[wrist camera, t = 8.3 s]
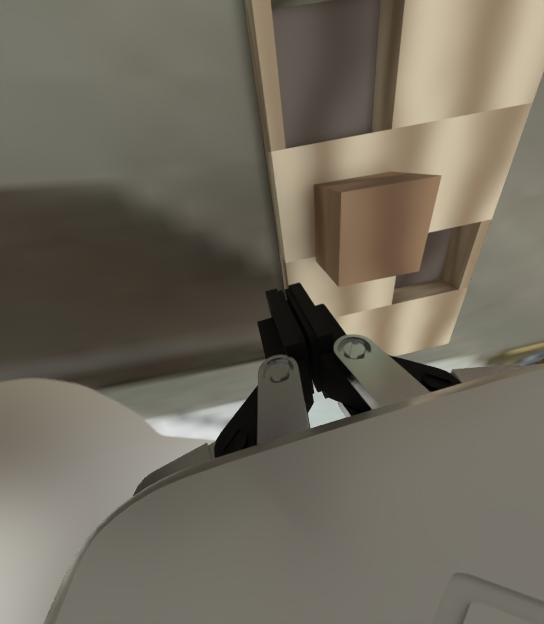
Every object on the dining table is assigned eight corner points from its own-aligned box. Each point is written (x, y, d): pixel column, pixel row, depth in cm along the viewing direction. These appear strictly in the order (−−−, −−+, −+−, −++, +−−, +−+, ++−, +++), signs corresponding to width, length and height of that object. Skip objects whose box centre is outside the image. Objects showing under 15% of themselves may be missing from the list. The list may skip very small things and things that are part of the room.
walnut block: (316, 261, 21) (338, 286, 17) (313, 184, 17) (341, 192, 13) (381, 249, 21) (419, 271, 17) (391, 171, 18) (441, 175, 14)
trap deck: (294, 361, 31) (306, 395, 27) (197, -325, 9) (170, -770, 5) (431, 329, 32) (464, 357, 28) (626, -361, 10) (937, -765, 6)
